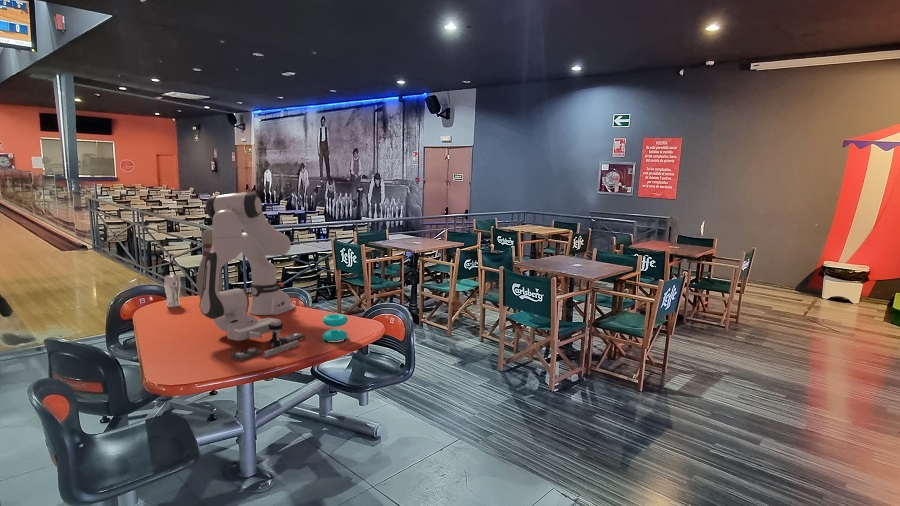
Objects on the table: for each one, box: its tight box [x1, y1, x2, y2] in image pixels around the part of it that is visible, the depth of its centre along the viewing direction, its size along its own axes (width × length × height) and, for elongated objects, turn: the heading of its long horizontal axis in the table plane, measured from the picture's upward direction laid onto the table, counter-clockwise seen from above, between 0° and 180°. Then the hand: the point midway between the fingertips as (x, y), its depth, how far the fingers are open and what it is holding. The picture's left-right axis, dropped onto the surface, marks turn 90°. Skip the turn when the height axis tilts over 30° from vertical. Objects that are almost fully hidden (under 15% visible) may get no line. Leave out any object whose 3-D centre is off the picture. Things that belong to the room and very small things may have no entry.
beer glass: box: [163, 274, 182, 308], centre depth 237 cm, size 7×7×15 cm
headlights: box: [230, 332, 306, 362], centre depth 186 cm, size 31×9×2 cm, turn 150°
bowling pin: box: [195, 228, 223, 300], centre depth 241 cm, size 11×12×38 cm
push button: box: [268, 321, 284, 348], centre depth 188 cm, size 7×5×10 cm
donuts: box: [322, 313, 349, 342], centre depth 199 cm, size 10×10×10 cm
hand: (270, 332), depth 186 cm, fingers open, 8 cm apart
